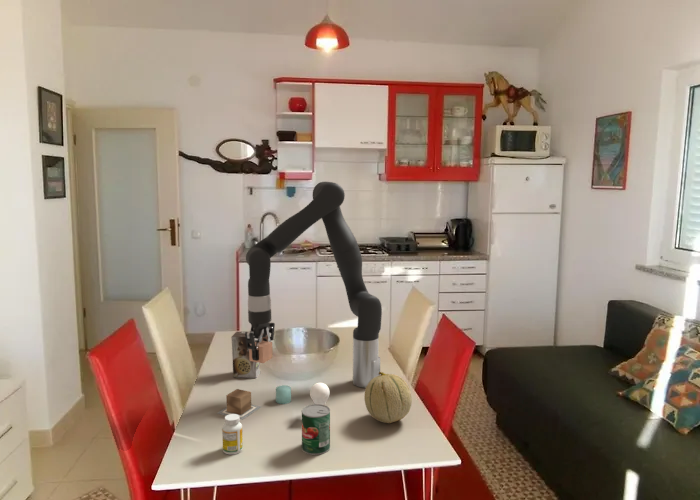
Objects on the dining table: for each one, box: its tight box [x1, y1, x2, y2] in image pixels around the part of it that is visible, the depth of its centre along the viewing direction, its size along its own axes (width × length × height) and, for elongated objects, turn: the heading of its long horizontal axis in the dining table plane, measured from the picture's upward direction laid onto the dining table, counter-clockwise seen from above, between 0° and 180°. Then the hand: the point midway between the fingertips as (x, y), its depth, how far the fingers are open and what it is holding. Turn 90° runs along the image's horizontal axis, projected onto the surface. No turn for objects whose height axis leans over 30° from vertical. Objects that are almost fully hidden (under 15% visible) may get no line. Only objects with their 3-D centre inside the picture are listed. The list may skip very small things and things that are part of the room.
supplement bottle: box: [221, 414, 244, 456], centre depth 143 cm, size 5×5×10 cm
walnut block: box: [225, 388, 252, 415], centre depth 167 cm, size 6×6×6 cm
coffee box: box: [231, 330, 261, 379], centre depth 197 cm, size 9×6×16 cm
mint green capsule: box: [275, 384, 292, 405], centre depth 174 cm, size 5×5×5 cm
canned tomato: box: [301, 403, 331, 456], centre depth 144 cm, size 8×8×11 cm
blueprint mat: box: [216, 404, 261, 420], centre depth 167 cm, size 10×10×1 cm
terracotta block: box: [249, 340, 274, 364], centre depth 174 cm, size 6×6×6 cm
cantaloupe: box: [363, 371, 413, 424], centre depth 160 cm, size 15×15×15 cm
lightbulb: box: [309, 382, 330, 406], centre depth 163 cm, size 6×6×11 cm
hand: (261, 356), depth 175 cm, fingers closed on terracotta block, 5 cm apart
